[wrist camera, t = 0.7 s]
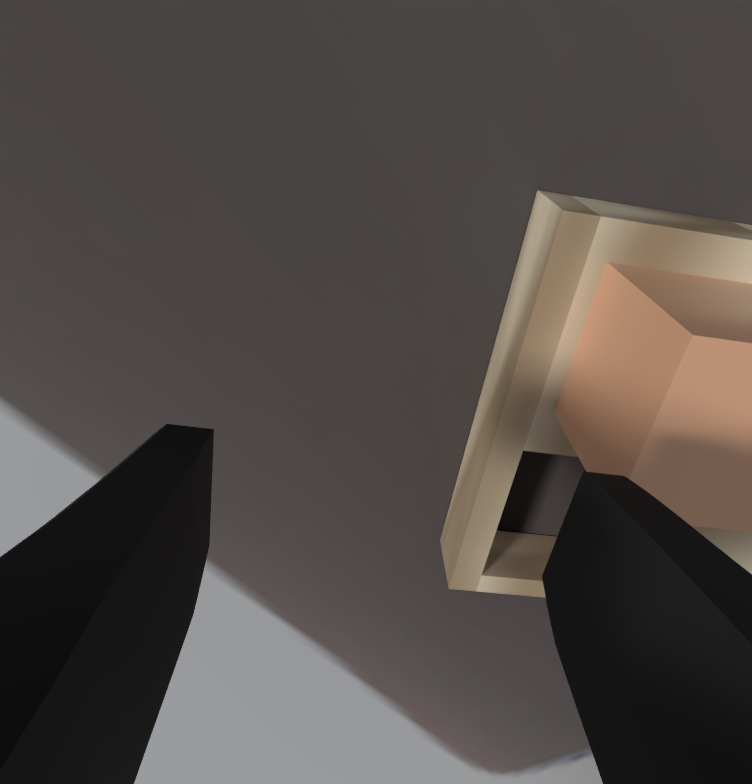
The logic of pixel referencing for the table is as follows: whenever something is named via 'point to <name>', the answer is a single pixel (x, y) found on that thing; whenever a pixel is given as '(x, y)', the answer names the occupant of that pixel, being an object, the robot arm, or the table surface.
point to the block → (667, 391)
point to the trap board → (562, 368)
